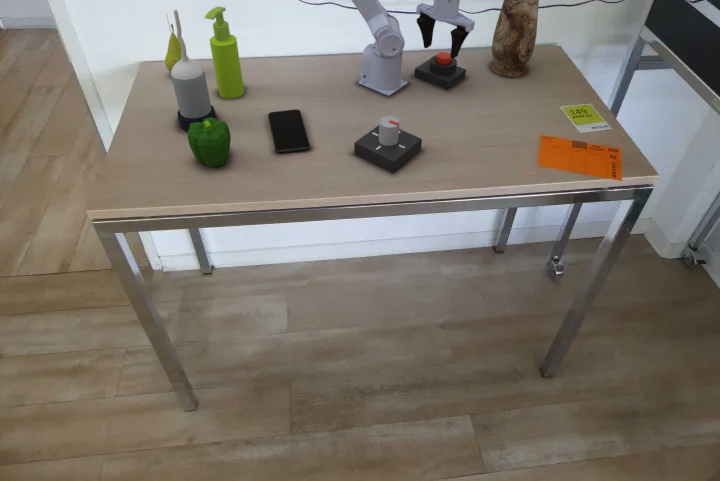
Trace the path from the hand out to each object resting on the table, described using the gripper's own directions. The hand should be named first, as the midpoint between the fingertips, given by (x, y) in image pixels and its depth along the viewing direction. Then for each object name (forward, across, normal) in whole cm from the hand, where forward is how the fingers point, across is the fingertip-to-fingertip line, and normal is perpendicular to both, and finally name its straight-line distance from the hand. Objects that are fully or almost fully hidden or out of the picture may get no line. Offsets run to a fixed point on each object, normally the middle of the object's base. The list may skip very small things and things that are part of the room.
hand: (440, 51), depth 133 cm
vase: (+9, -9, -18) cm, 22 cm away
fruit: (+8, +50, +39) cm, 64 cm away
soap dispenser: (+8, +34, +37) cm, 51 cm away
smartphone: (+8, +12, +39) cm, 42 cm away
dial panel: (+8, -9, +31) cm, 33 cm away
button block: (+8, +1, -3) cm, 9 cm away
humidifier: (+8, +30, +50) cm, 59 cm away
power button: (+5, +1, -4) cm, 6 cm away
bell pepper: (+8, +16, +56) cm, 59 cm away
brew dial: (+5, -9, +31) cm, 32 cm away
